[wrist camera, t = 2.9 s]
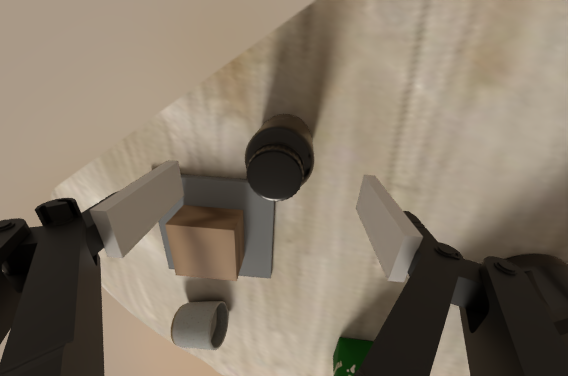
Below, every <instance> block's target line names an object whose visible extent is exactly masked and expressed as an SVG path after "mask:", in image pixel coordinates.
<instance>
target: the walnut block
mask: <svg viewBox="0 0 568 376" xmlns="http://www.w3.org/2000/svg"><path fill="white" fill-rule="evenodd" d="M165 226H166V231H167V236H168V240H169V245H170V250H171V254H172V259H173V264H174V268H175V273H176V275H180V276H191V277H201V278H212V279H222V280H232V281H237V278H238V275H239V272H240V269H241V266H242V263H243V259H244V221H243V210H237V209H226V208H214V207H202V206H190V205H183V206H182V207H181V208H180V209H179V210H178V211H177V212H176V213H175V214H174V216H173V217H172V218H171V219H170V220H169V221H168V222H167V223H166V224H165Z"/></svg>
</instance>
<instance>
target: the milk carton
mask: <svg viewBox="0 0 568 376" xmlns="http://www.w3.org/2000/svg"><path fill="white" fill-rule="evenodd" d="M373 343H374V342H373V341H365V340H357V339H350V338H342V337H340V338H339V341H338V344H337V347H336V349H335V352H334V355H333V371H334V376H353V375H354V374H355V372H356V371H357V370H358V369H359V368H360V366H361V364H362V363H363V361H364V359H365V357H366V355H367V354H368V352H369V350H370V348H371V346H372V345H373Z"/></svg>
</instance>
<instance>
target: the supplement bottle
mask: <svg viewBox="0 0 568 376" xmlns="http://www.w3.org/2000/svg"><path fill="white" fill-rule="evenodd" d="M245 165H246V169H247V172H246V173H247V179H248V183H249V184H250V187H251V188H252V189H253V191H254V192H255V193H256V194H257V195H259V196H261V197H262V198H265V199H266V200H271V201H283V200H285V199H288V198H289V197H292V196H293V195H294V194H296V193H297V191H298V190H299V189H300V187H301V186H302V185H303V184H304V183H305V182H306V181H307V180H308V178H309V177H310V175H311V173H312V170H313V167H314V151H313V143H312V137H311V133H310V130H309V128H308V126H307V125H306V124H305V123H304V122H303V121H302V120H301V119H300V118H298V117H296V116H294V115H290V114H280V115H276V116H274V117H272V118H270V119H269V120H268V121H267V122H266V123H265V124H264V125H263V126H262V127H261V128H260V129H259V130H258V131H257V133H256V134H255V135H254V136H253V137H252V139H251V140H250V142H249V143H248V145H247V148H246V152H245Z"/></svg>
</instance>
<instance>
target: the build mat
mask: <svg viewBox="0 0 568 376" xmlns="http://www.w3.org/2000/svg"><path fill="white" fill-rule="evenodd" d="M181 181H182V187H183V193H184V196H183V197H182V198H181V199H180V200H179V201H178V202H177V203H176V204H175V205H174V206H173V207H172V208H171V209H170V210H169V211H168V212H167V213H166V214H165V215H164V216H163V217H162V218H161V219H160V220H159V221H158V222H159V226H160V231H161V235H162V239H163V244H164V248H165V253H166V257H167V261H168V266H169V269H175V268H174V264H173V259H172V254H171V250H170V245H169V240H168V236H167V231H166V226H165V224H166V223H167V222H168V221H169V220H170V219H171V218H172V217H173V216H174V214H175V213H176V212H177V211H178V210H179V209H180V208H181V207H182V206H183V205H190V206H202V207H214V208H226V209H237V210H243V221H244V259H243V263H242V266H241V269H240V272H239V276H249V277H260V278H271V270H272V248H273V225H274V203H275V201H271V200H266V199H265V198H262V197H261V196H259V195H257V194H256V193H255V192H254V191H253V189H252V188H251V187H250V184H249V183H248V180H245V179H232V178H220V177H207V176H195V175H182V174H181Z"/></svg>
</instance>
